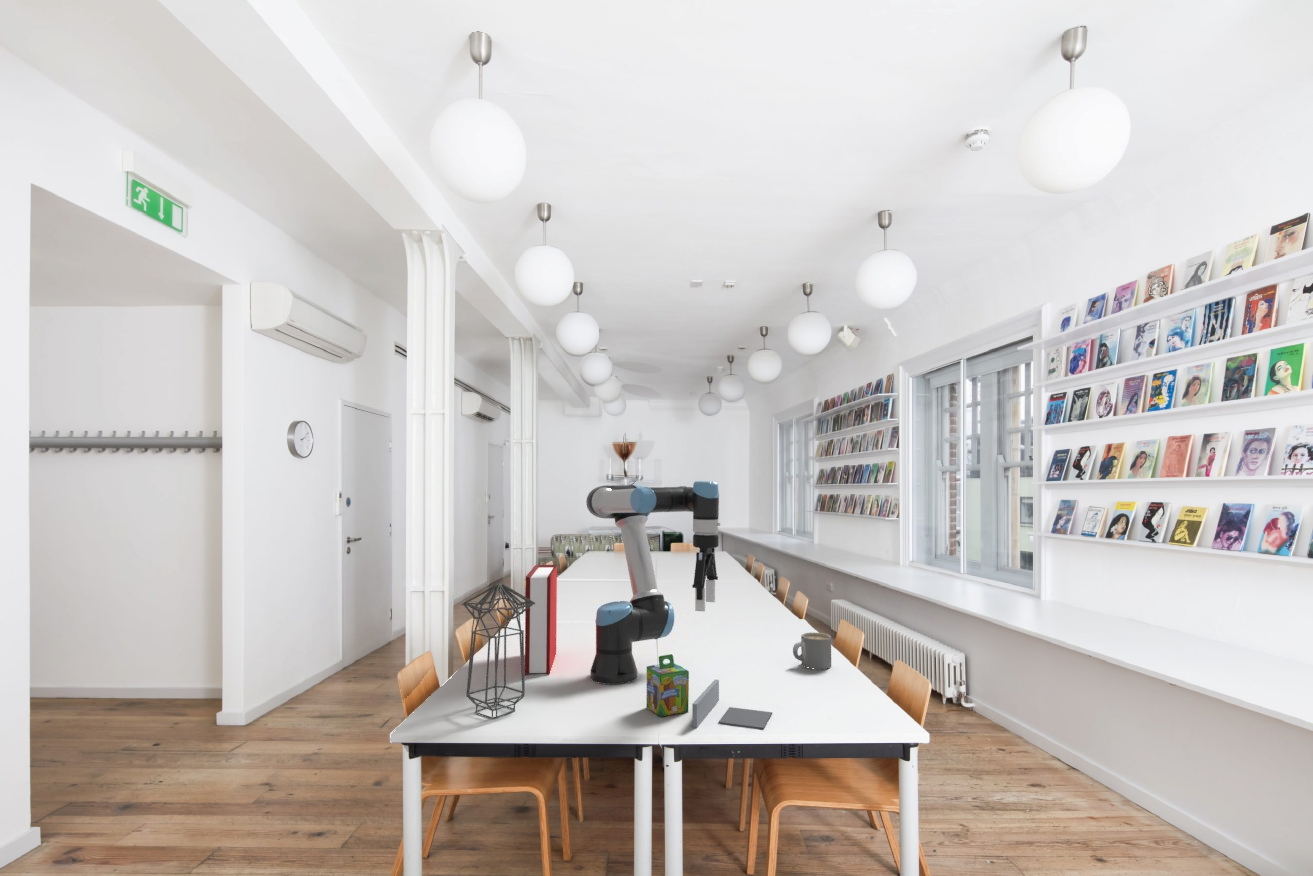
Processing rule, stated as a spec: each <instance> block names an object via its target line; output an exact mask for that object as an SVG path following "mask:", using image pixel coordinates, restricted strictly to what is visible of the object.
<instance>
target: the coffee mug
mask: <svg viewBox="0 0 1313 876" xmlns="http://www.w3.org/2000/svg"><path fill="white" fill-rule="evenodd" d="M800 639H801V641H798V642H795V643H794V644H793V648H792V653H793V654H792V655H793V657H794V658H795V659H796V660H798V661H800V662H801V666H802V665H803V666H805V667H804V668H806V667H809V668H814V669H813V670H815V669H824V670H828V669H827V668H829V669H831V668H832V636H831V635H830V634H828V633H824V632H804V633H802V634H801V638H800ZM800 647H801V654H798V650H799V648H800ZM803 666H802V667H803ZM830 667H831V668H830ZM809 668H808V669H809Z"/></svg>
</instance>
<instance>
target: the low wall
mask: <svg viewBox="0 0 1313 876" xmlns="http://www.w3.org/2000/svg"><path fill="white" fill-rule="evenodd" d="M718 701H720V679H714V680H713V681H712V682H711V683H710V684H709V685H708V686H707V687H706V688H705V690H703V692H702V693H701V694H700V695H699V696H698V697H697V698H696V699H695V700H694V701H693V702H692V704H691V705H692V707H691V708H692V709H691V710H692V712H691V713H692V715H691V716H692V724H691V725H692V728H696V729H697V728H698V727H700V725H701V724H702V722H703V721H704V720H705V719H706V718H707V716H708V715H709V714H710V713H711V712H712V710H713V709H714V708H715V706H716V705H717V704H718V703H719V702H718ZM717 702H718V703H717ZM716 703H717V704H716ZM713 707H714V708H713ZM712 708H713V709H712ZM709 712H710V713H709ZM708 713H709V714H708Z"/></svg>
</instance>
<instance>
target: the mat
mask: <svg viewBox="0 0 1313 876" xmlns="http://www.w3.org/2000/svg"><path fill="white" fill-rule="evenodd" d="M772 715H773V712H770V711H764V710H757V709H756V710H755V709H748V708H741V707H732V706H729V707H728V708H727V710H726V711H725V713H724V714H723V715H722V716H721V718H720V719H719V720H718V723H717V724H719V723H720V725H726V724H727V725H728V726H735V727H741V728H742V727H744V728H749V729H750V728H751V729H756V728H757V729H758V730H764V729H765V728H766V726H767V724H768V723H767V722H769V720H770V719H771V717H772Z"/></svg>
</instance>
